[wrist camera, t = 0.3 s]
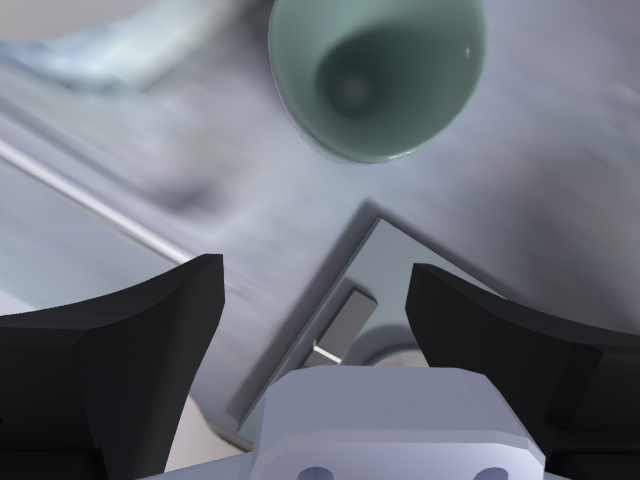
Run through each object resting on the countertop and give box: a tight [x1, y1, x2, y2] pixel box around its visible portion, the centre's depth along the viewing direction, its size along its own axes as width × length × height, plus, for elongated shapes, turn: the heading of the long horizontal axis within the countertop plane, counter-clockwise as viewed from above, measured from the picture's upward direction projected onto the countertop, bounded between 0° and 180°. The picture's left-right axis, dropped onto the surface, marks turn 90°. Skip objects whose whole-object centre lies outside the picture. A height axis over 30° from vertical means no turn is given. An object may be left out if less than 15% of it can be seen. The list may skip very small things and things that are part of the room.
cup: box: [268, 0, 488, 165], centre depth 16 cm, size 8×8×10 cm
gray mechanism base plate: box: [236, 216, 508, 443], centre depth 24 cm, size 20×18×3 cm
